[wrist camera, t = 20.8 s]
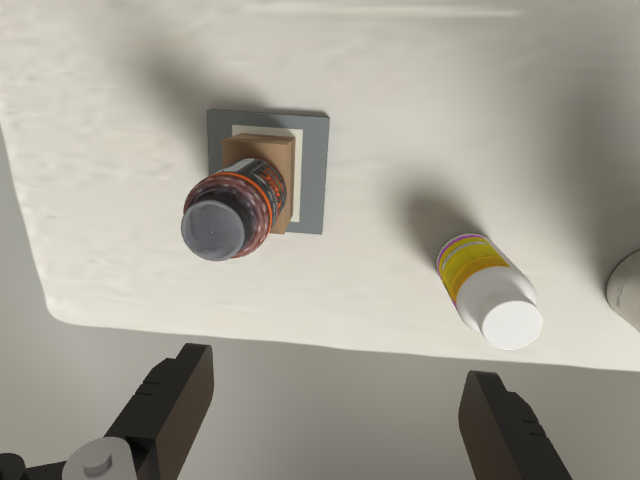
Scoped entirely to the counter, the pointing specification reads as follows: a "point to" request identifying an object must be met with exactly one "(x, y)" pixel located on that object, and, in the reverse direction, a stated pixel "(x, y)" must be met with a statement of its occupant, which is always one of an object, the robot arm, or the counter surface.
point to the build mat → (307, 156)
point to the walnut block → (272, 151)
